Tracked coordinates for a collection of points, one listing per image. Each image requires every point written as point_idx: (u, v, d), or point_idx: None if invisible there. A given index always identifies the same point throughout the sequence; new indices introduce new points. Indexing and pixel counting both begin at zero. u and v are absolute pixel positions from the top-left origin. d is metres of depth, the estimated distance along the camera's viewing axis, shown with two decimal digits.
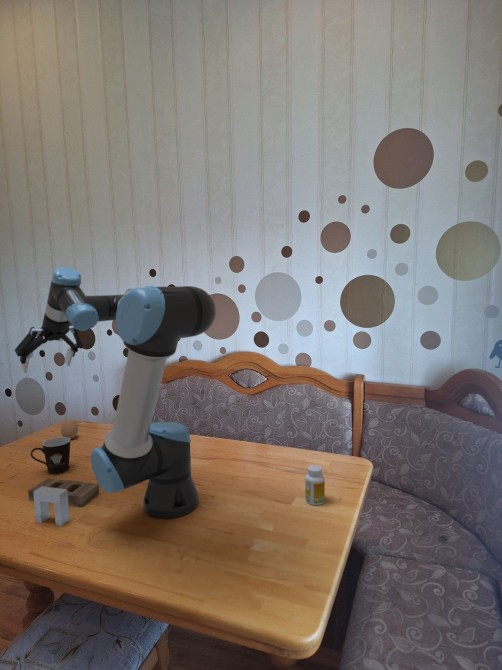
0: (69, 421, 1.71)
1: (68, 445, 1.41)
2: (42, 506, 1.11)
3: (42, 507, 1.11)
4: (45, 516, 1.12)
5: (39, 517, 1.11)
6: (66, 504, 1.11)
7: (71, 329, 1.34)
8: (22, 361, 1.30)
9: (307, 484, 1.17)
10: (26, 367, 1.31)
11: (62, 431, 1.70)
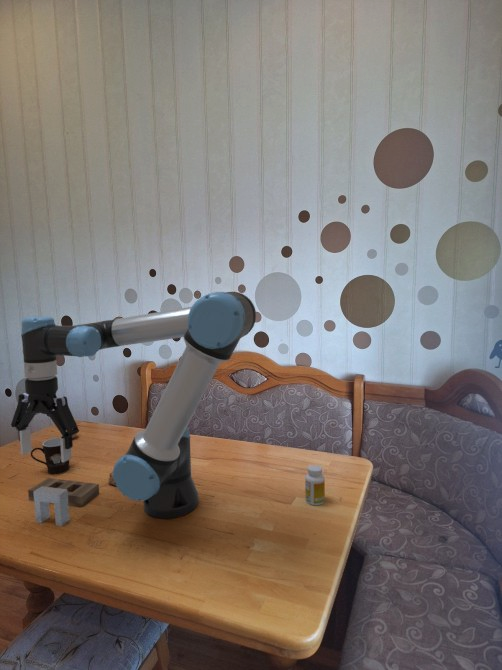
0: None
1: None
2: (42, 506, 1.11)
3: (42, 507, 1.11)
4: (45, 516, 1.12)
5: (39, 517, 1.11)
6: (66, 504, 1.11)
7: None
8: None
9: (307, 484, 1.17)
10: None
11: None
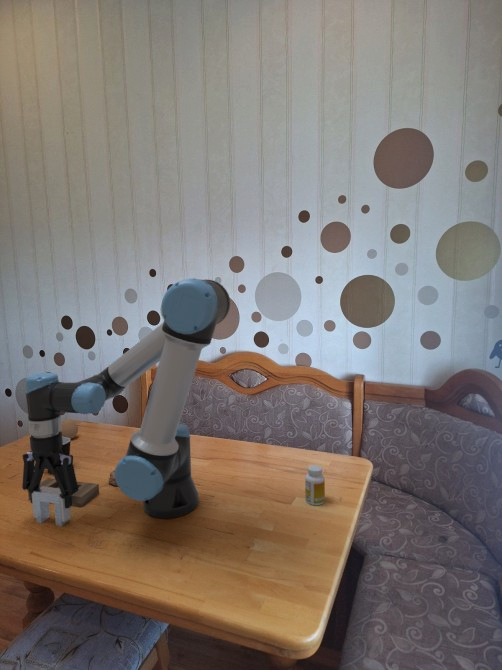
0: (69, 421, 1.71)
1: (68, 445, 1.41)
2: (42, 506, 1.11)
3: (42, 507, 1.11)
4: (45, 516, 1.12)
5: (39, 517, 1.11)
6: None
7: None
8: None
9: (307, 484, 1.17)
10: None
11: (62, 431, 1.70)
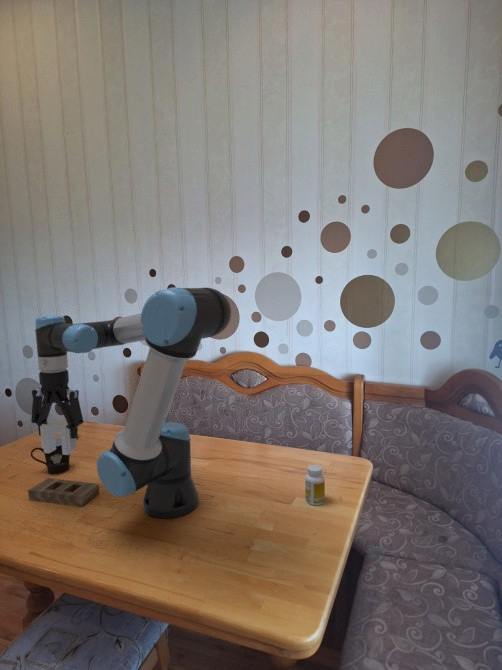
0: None
1: None
2: (49, 438, 1.21)
3: (49, 439, 1.21)
4: (52, 447, 1.22)
5: (47, 448, 1.21)
6: None
7: None
8: None
9: (307, 484, 1.17)
10: None
11: None
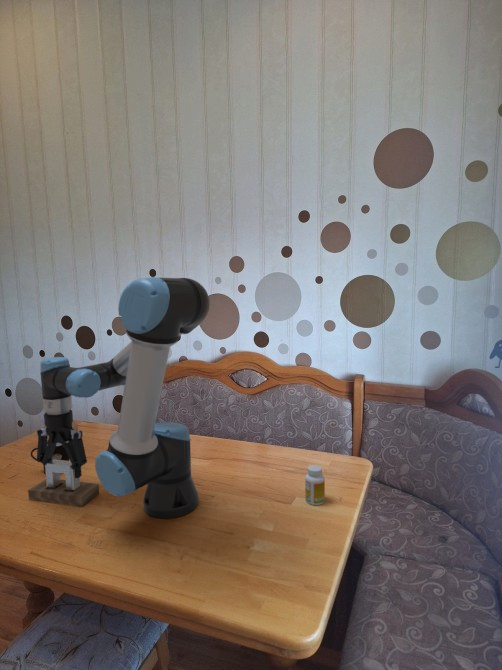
0: None
1: None
2: (54, 477, 1.24)
3: (54, 478, 1.24)
4: (57, 486, 1.25)
5: (51, 486, 1.23)
6: None
7: None
8: None
9: (307, 484, 1.17)
10: None
11: None
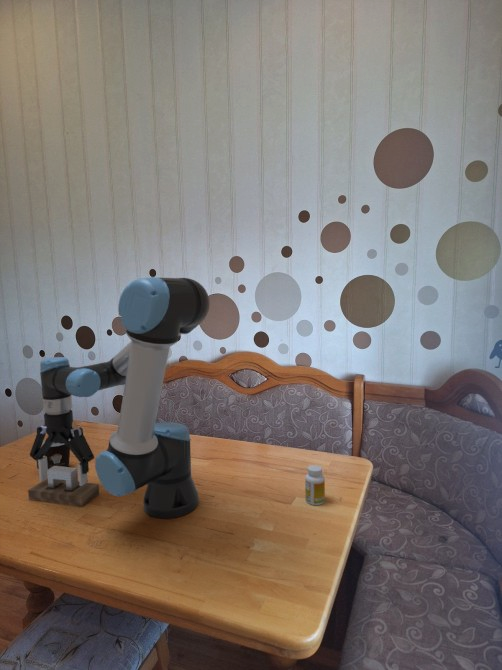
0: None
1: None
2: (55, 483, 1.24)
3: (54, 484, 1.24)
4: None
5: None
6: (76, 481, 1.24)
7: None
8: None
9: (307, 484, 1.17)
10: None
11: None
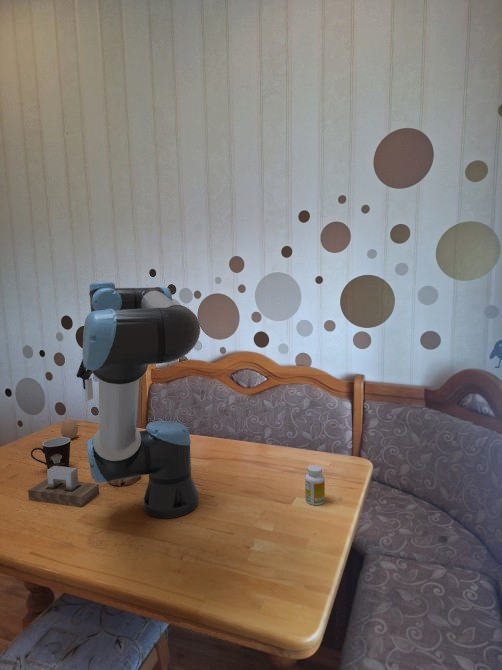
0: (69, 421, 1.71)
1: (68, 445, 1.41)
2: (55, 483, 1.24)
3: (54, 484, 1.24)
4: None
5: None
6: (76, 481, 1.24)
7: None
8: None
9: (307, 484, 1.17)
10: None
11: (62, 431, 1.70)
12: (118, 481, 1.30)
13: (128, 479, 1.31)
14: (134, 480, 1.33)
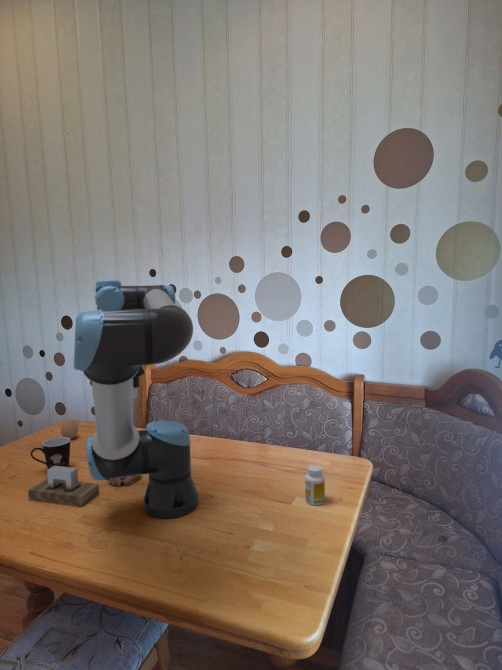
0: (69, 421, 1.71)
1: (68, 445, 1.41)
2: (55, 483, 1.24)
3: (54, 484, 1.24)
4: None
5: None
6: (76, 481, 1.24)
7: None
8: None
9: (307, 484, 1.17)
10: None
11: (62, 431, 1.70)
12: (118, 481, 1.30)
13: (128, 479, 1.31)
14: (134, 480, 1.33)
